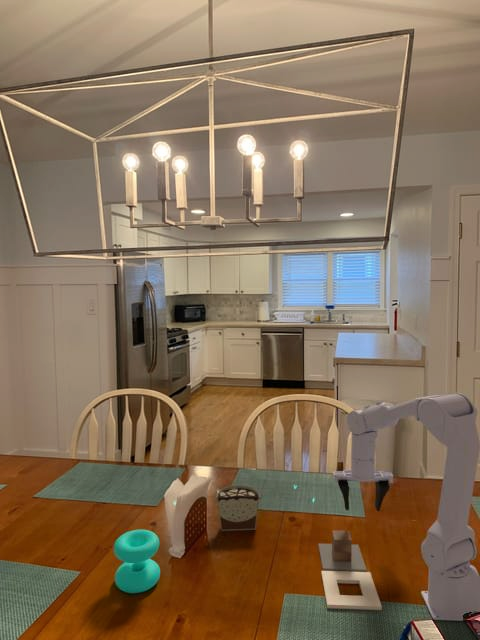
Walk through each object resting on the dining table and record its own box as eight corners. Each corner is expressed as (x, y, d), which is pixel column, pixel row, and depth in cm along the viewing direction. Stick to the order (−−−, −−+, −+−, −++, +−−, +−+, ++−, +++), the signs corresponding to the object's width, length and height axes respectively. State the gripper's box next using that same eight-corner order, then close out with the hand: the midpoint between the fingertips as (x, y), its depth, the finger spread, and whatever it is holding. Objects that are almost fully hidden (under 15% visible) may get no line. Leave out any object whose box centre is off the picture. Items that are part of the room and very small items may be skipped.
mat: (358, 546, 118) (358, 544, 118) (366, 571, 108) (366, 569, 108) (318, 544, 118) (318, 543, 118) (322, 569, 108) (322, 568, 108)
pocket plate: (370, 575, 106) (370, 572, 106) (381, 610, 95) (381, 606, 95) (321, 573, 107) (321, 570, 107) (327, 608, 96) (327, 604, 96)
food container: (259, 517, 132) (259, 483, 131) (261, 529, 126) (261, 494, 125) (216, 518, 132) (215, 484, 131) (215, 530, 125) (215, 495, 124)
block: (348, 552, 115) (348, 530, 114) (351, 562, 111) (351, 540, 110) (331, 551, 115) (332, 530, 114) (334, 561, 111) (334, 539, 110)
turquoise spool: (132, 558, 97) (104, 541, 103) (134, 603, 98) (105, 583, 104) (168, 537, 105) (140, 522, 111) (169, 578, 106) (141, 561, 112)
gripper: (388, 451, 120) (387, 501, 121) (331, 450, 121) (331, 500, 122) (395, 462, 113) (394, 515, 114) (335, 461, 114) (334, 514, 115)
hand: (362, 508), depth 118 cm, fingers open, 7 cm apart
